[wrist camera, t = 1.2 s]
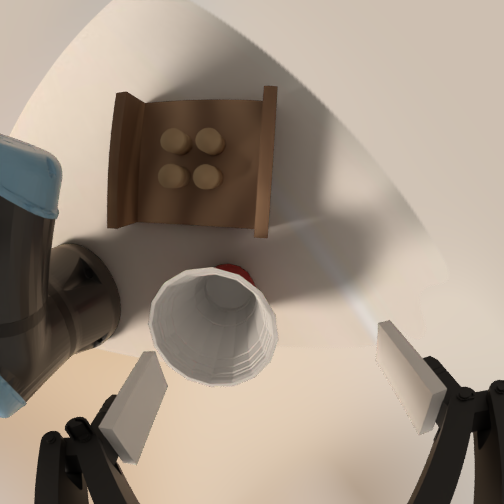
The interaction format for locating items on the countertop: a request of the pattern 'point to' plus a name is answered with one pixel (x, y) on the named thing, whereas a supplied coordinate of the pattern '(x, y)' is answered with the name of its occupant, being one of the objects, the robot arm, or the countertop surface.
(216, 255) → the countertop surface
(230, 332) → the plastic cup
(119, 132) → the peg board
